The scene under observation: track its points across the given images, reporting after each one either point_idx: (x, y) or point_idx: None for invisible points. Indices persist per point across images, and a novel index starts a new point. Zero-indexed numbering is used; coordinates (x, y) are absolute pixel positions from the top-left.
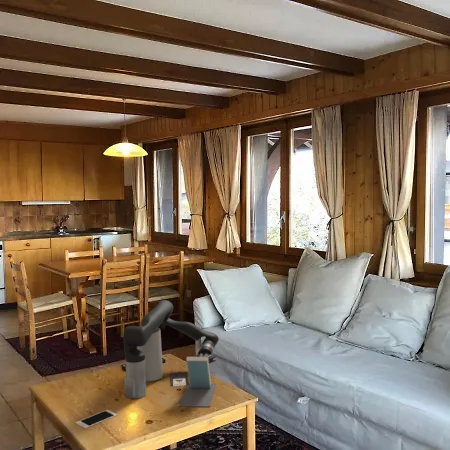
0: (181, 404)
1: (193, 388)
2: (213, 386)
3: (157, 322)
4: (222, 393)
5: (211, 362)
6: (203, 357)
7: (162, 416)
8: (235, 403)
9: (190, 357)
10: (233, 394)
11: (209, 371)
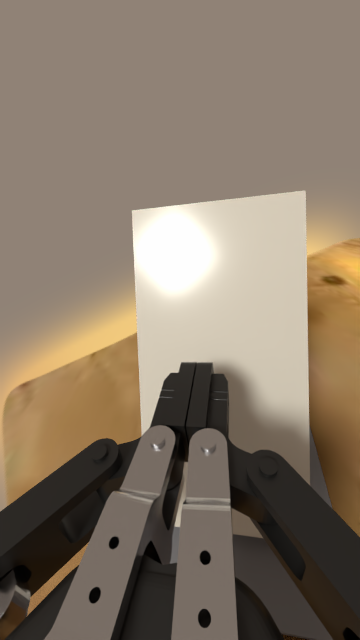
0: None
1: None
2: None
3: None
4: (105, 434)
5: (63, 519)
6: (165, 208)
7: (310, 295)
8: (88, 357)
9: (270, 197)
10: (60, 422)
11: (140, 370)
